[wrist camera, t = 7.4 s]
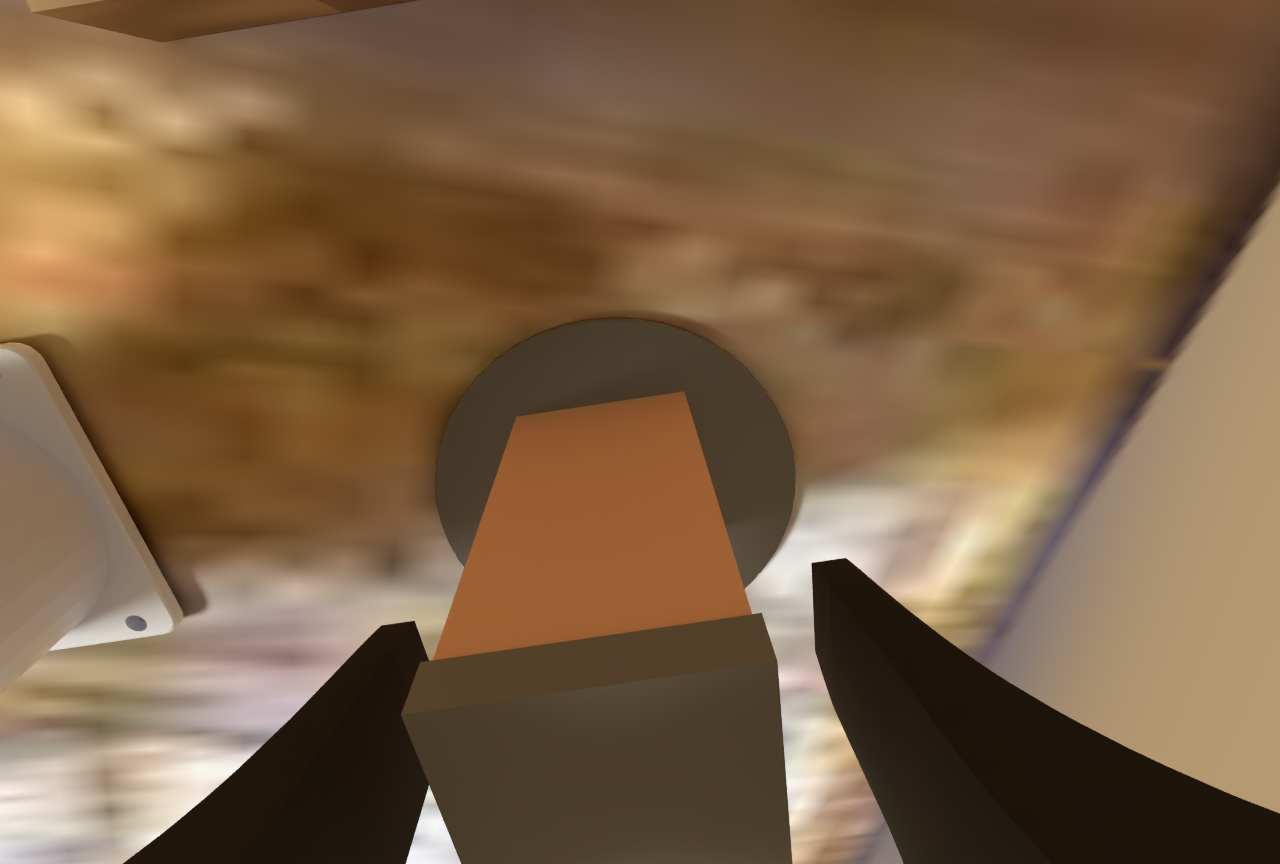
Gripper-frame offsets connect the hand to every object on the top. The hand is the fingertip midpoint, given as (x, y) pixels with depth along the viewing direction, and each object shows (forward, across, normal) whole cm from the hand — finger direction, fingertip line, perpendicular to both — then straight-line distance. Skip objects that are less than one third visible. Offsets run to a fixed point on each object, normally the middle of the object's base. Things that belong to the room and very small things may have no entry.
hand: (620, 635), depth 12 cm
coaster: (+5, 0, 0) cm, 5 cm away
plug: (+5, 0, -1) cm, 5 cm away
